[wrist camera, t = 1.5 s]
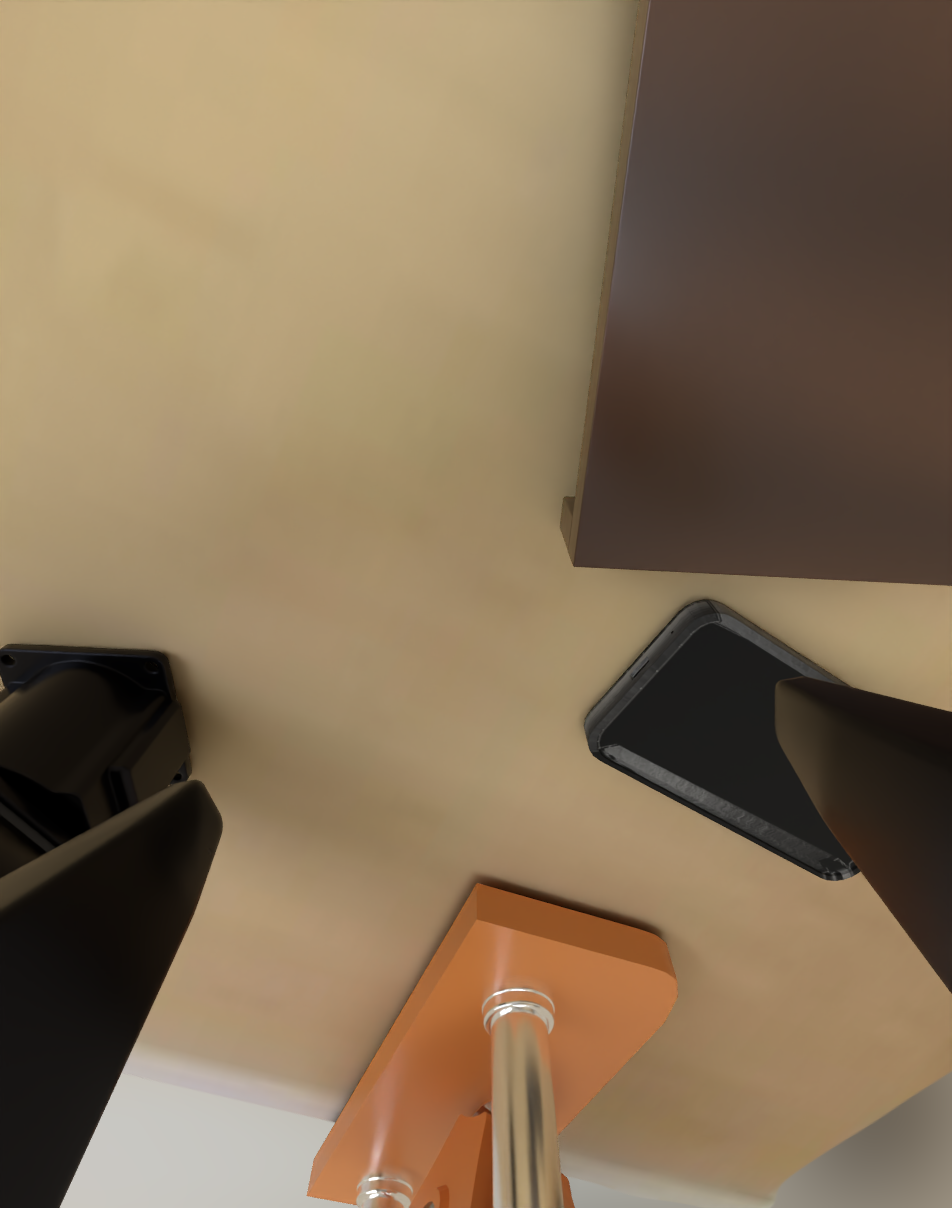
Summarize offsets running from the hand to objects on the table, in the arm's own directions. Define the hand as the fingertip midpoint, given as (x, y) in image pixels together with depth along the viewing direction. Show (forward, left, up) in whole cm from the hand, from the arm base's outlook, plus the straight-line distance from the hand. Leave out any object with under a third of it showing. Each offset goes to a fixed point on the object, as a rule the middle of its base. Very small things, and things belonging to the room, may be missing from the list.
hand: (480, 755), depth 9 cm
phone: (+13, -10, -13) cm, 21 cm away
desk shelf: (+9, +8, -13) cm, 18 cm away
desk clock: (+1, -34, -13) cm, 37 cm away
